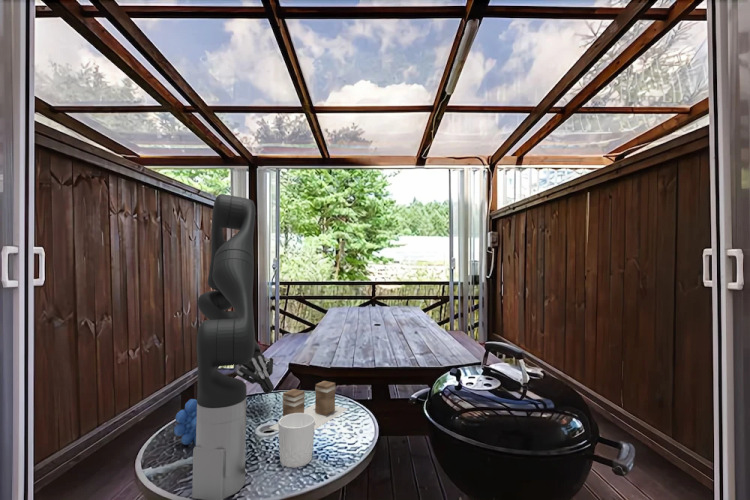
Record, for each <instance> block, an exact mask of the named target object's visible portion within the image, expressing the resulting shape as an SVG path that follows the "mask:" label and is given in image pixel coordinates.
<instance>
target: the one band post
mask: <svg viewBox="0 0 750 500" xmlns="http://www.w3.org/2000/svg"><path fill="white" fill-rule="evenodd" d="M336 388H337V387H336V382H333V381H327V380H322V381H321V382H318V383H315V387H314V389H315V400H314V401H315V403H314V404H315V413H319V414H322V415H326V416H327V415H328V414H330V413H332V412H333V411H335V406H336Z"/></svg>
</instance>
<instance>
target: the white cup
mask: <svg viewBox="0 0 750 500" xmlns="http://www.w3.org/2000/svg"><path fill="white" fill-rule="evenodd" d="M278 423H279V431H278V446H279V450H278V451H279V457H280V458H279V459H280V460H279V461H280V463H281V464H282V466H285V467H286V468H299V467H304V466H306V465H308V464H309V463H310V462H311V461H312V458H313V457H312V456H313V452H314V439H315V437H314V435H315V430H314V424H315V418H314V417H313V416H312V415H310V414H307V413H293V414H288V415H286V416H283V415H282V417H281V418H279V420H278Z"/></svg>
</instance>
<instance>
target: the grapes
mask: <svg viewBox="0 0 750 500" xmlns="http://www.w3.org/2000/svg"><path fill="white" fill-rule="evenodd" d="M184 404H185V405H184V409H181V410H179V411H178V412H177V413H176V414H175V418H174V419H175V421H176V423H177V424H176V425H175V426H174V430H173V433H174V435H176V437H177V436H178V437H181V438H180V441H181V444H182V445H185V446H187V445H190V444H192V443H193V444H194V445H195V446H196V425H197V398H196V399H194V398H190V399H189V400H188V401H187V402H186V403H184Z"/></svg>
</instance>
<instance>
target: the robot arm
mask: <svg viewBox="0 0 750 500" xmlns="http://www.w3.org/2000/svg"><path fill="white" fill-rule="evenodd" d="M212 207H213V209H212V214H211V215H212V216H211V232H210V233H211V234H210V235H211V237H210V245H211V246H210V265H209V270H208V277H207V285H208V287H210V288H211V289H212V290H211V291H206V292H204V293H202V294H200V296H199V297H198V298H197V306H198V309H199V311H200V313H202V315H203V316H204V317H206V318H207V319H206V320H204V321H201V323H200V325H199V327H198V330H197V333H196V335H197V336H196V354H197V355H196V361H197V362H196V364H197V390H196V391H197V393H196V394H197V397H196V400H197V425H196V445H195V446H194V448H193V451H192V489H191V490H192V491H191V493H192V494H191V495H192V496H191V498H192V499H196V500H197V499H198V500H225V499H226V498H229V497H231V496H233V495H235V494H237V493H238V492H239V491H240V490H241V489H242V488H243V487H244V485H245V482H246V438H247V437H246V432H247V430H246V429H247V395H248V394H247V392H248V391H247V389H248V388H247V384H246V383H245V381H246V382H248V383H250V384H252V385H254V384H257V385H259V386H260V388H261V390H262V391H263V393H265V394H266V395H268V394H271V393H272V392H273V391H274V390H275V388H274V387H275V385H274V384H273V382H272V381H271V378H270V376H271V375H272V374H273V372H274V358H272V357H269V358H266V357H265V355H264V353H262V352H261V348H260V345H259V343H258V342H257V340H256V333H255V332H256V331H255V317H254V300H253V299H254V298H253V297H254V296H253V293H254V275H255V272H254V271H255V269H254V268H255V266H254V265H255V260H254V259H255V257H254V256H255V255H254V236H255V235H254V234H255V232H254V231H255V223H256V204H255V203H254V201H253V200H252V199H250V198H247V197H242V196H238V195H237V196H236V195H229V194H226V193H225V194H223V193H220V194H217V196H216V197H215V200H214V203H213V206H212ZM224 228H225V229H230V230H236V231H237V230H238V231H237V232H236V233H235V234H234V235H233V236H231V237H230V238H229V239H227V240H225V236H224ZM231 308H232V309H233V310H230V309H231ZM227 366H238V367H239V368H238V370H236V372H235V375H236V376H238V377H240V378H241V379H243V380H245V381H243V380H241V379H239V378H235V377H232V376H228V375H226V374H224V373H222V372H221V371H219V370H218V369H217V367H227Z"/></svg>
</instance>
